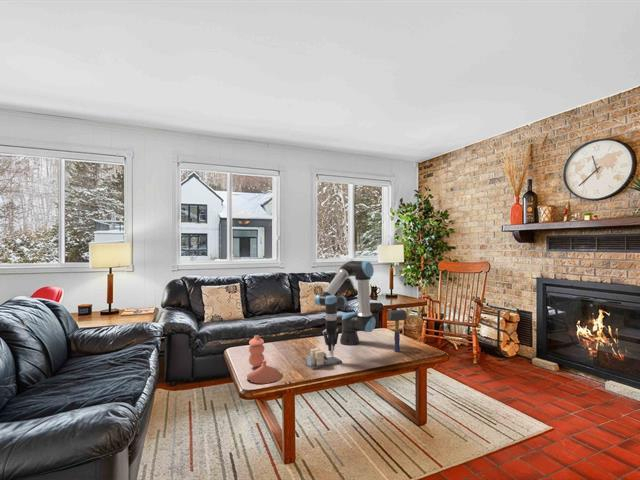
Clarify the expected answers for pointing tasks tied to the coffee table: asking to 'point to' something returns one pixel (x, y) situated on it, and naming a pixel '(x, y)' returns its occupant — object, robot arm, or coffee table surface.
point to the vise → (328, 362)
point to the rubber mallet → (397, 324)
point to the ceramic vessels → (257, 359)
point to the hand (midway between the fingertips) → (331, 355)
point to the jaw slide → (325, 357)
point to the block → (318, 356)
